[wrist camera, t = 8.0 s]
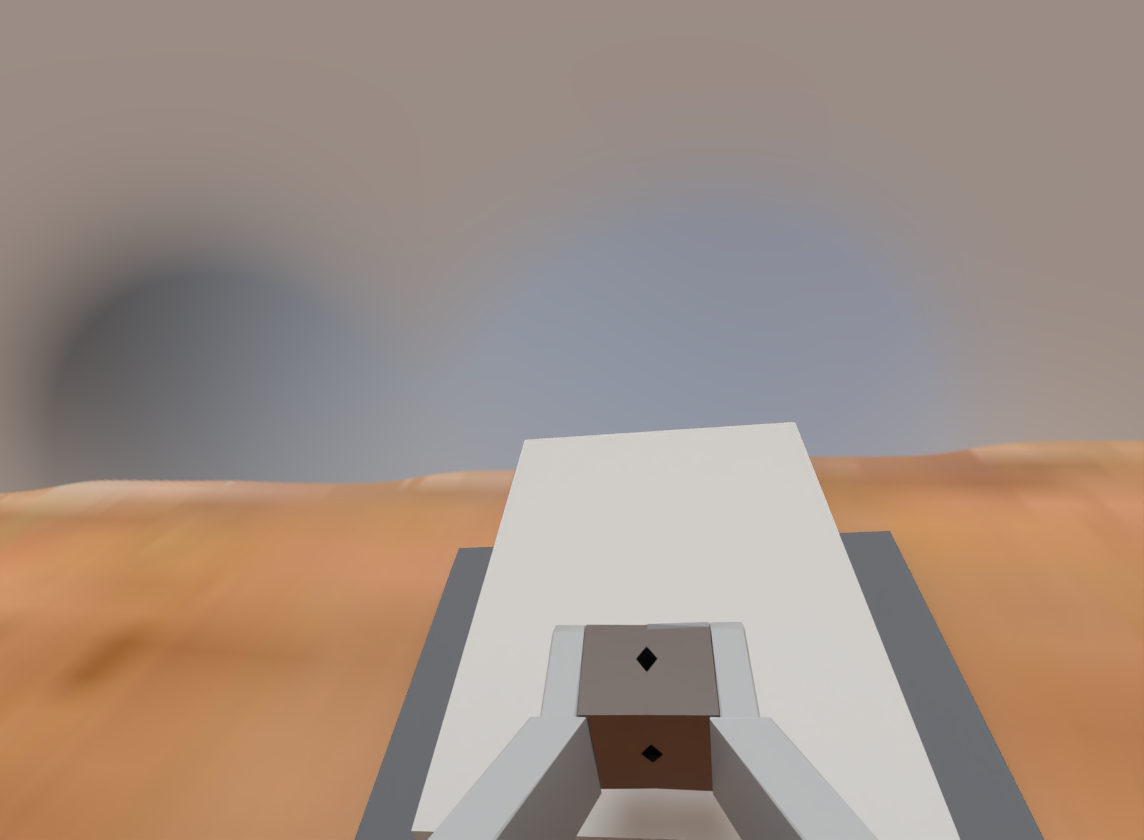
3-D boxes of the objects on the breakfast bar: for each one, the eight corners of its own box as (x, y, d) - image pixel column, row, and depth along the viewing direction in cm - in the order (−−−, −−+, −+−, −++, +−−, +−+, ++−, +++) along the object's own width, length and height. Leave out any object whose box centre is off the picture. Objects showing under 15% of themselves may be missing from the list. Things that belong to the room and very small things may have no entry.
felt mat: (243, 1174, 11) (235, 1170, 11) (461, 553, 25) (459, 548, 25) (1266, 1303, 9) (1275, 1301, 9) (888, 537, 22) (889, 531, 22)
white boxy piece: (410, 830, 12) (525, 439, 24) (453, 914, 14) (540, 512, 26) (964, 848, 11) (794, 421, 23) (932, 940, 13) (791, 500, 24)
